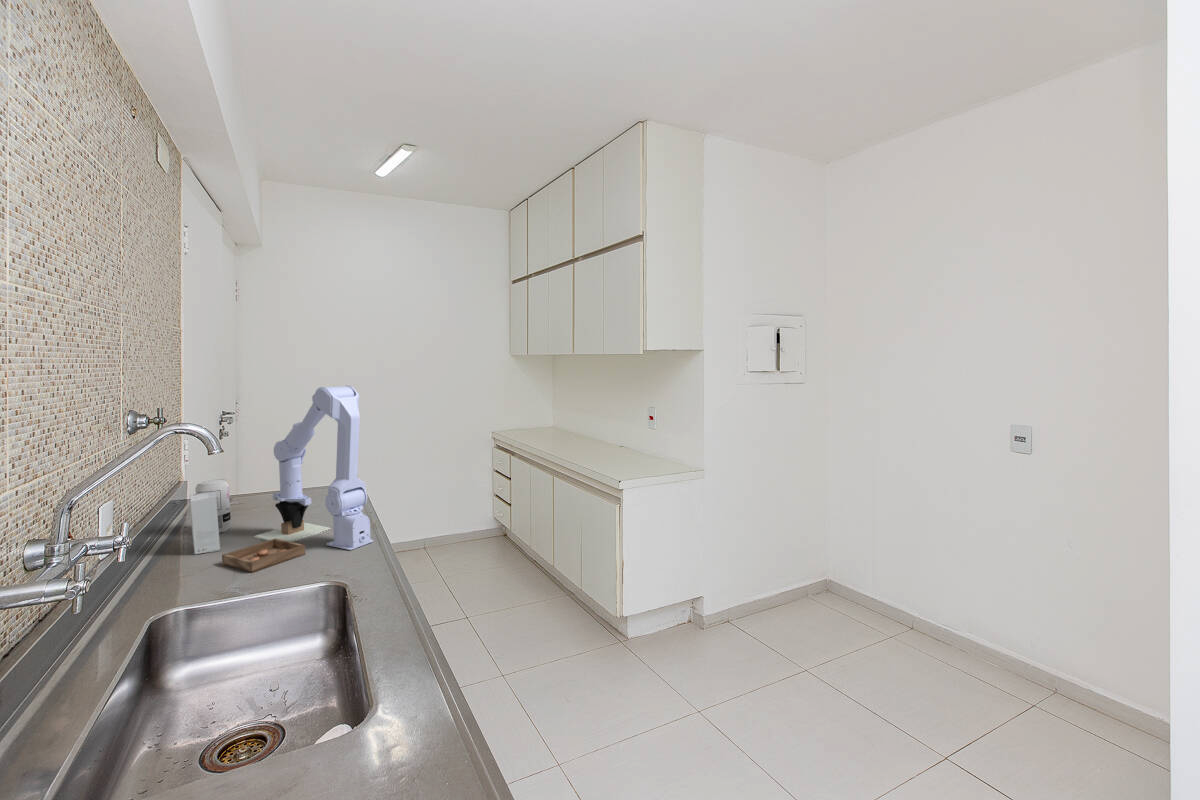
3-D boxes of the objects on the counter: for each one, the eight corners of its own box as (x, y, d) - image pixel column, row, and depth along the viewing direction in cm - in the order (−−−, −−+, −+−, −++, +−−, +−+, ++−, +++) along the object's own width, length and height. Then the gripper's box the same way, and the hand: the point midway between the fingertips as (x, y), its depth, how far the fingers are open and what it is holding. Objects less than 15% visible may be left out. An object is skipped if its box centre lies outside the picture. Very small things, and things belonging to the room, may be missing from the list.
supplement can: (191, 533, 164) (188, 483, 163) (219, 525, 171) (217, 477, 170) (209, 536, 161) (206, 485, 160) (237, 528, 168) (235, 480, 167)
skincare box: (220, 550, 149) (217, 496, 148) (192, 555, 146) (189, 500, 145) (219, 542, 156) (216, 490, 155) (192, 546, 152) (189, 493, 151)
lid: (330, 529, 168) (329, 518, 168) (283, 544, 154) (282, 532, 154) (301, 523, 174) (301, 512, 173) (253, 537, 160) (253, 525, 160)
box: (305, 554, 147) (304, 545, 147) (252, 572, 134) (251, 562, 134) (276, 547, 152) (275, 538, 152) (222, 564, 140) (221, 554, 139)
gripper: (262, 481, 162) (264, 526, 163) (294, 486, 156) (296, 533, 157) (284, 476, 169) (286, 520, 170) (317, 481, 162) (318, 526, 163)
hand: (293, 526), depth 164 cm, fingers closed on lid, 3 cm apart
